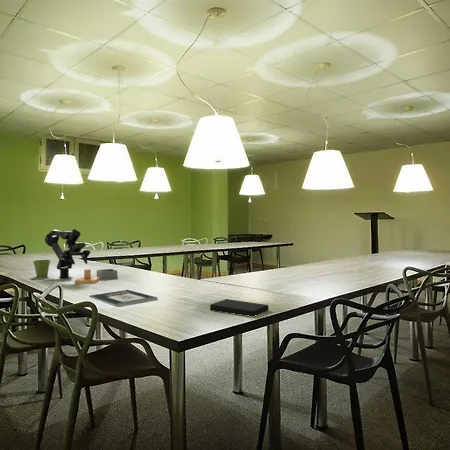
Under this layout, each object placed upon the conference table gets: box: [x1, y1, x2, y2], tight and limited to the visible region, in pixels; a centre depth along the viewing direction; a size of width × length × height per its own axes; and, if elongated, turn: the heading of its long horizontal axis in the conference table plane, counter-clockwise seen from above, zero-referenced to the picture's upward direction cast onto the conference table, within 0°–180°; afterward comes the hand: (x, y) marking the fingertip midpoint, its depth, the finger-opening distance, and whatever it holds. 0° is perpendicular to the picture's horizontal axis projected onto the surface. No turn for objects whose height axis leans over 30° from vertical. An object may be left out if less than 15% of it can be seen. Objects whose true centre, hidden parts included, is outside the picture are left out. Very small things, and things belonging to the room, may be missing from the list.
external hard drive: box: [209, 298, 269, 317], centre depth 181 cm, size 14×23×3 cm, turn 57°
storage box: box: [96, 268, 118, 281], centre depth 269 cm, size 11×11×6 cm
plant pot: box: [32, 259, 52, 278], centre depth 281 cm, size 12×12×11 cm
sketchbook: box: [89, 289, 158, 307], centre depth 207 cm, size 23×32×2 cm
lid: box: [74, 268, 101, 286], centre depth 254 cm, size 13×13×8 cm
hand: (80, 263), depth 260 cm, fingers open, 9 cm apart
